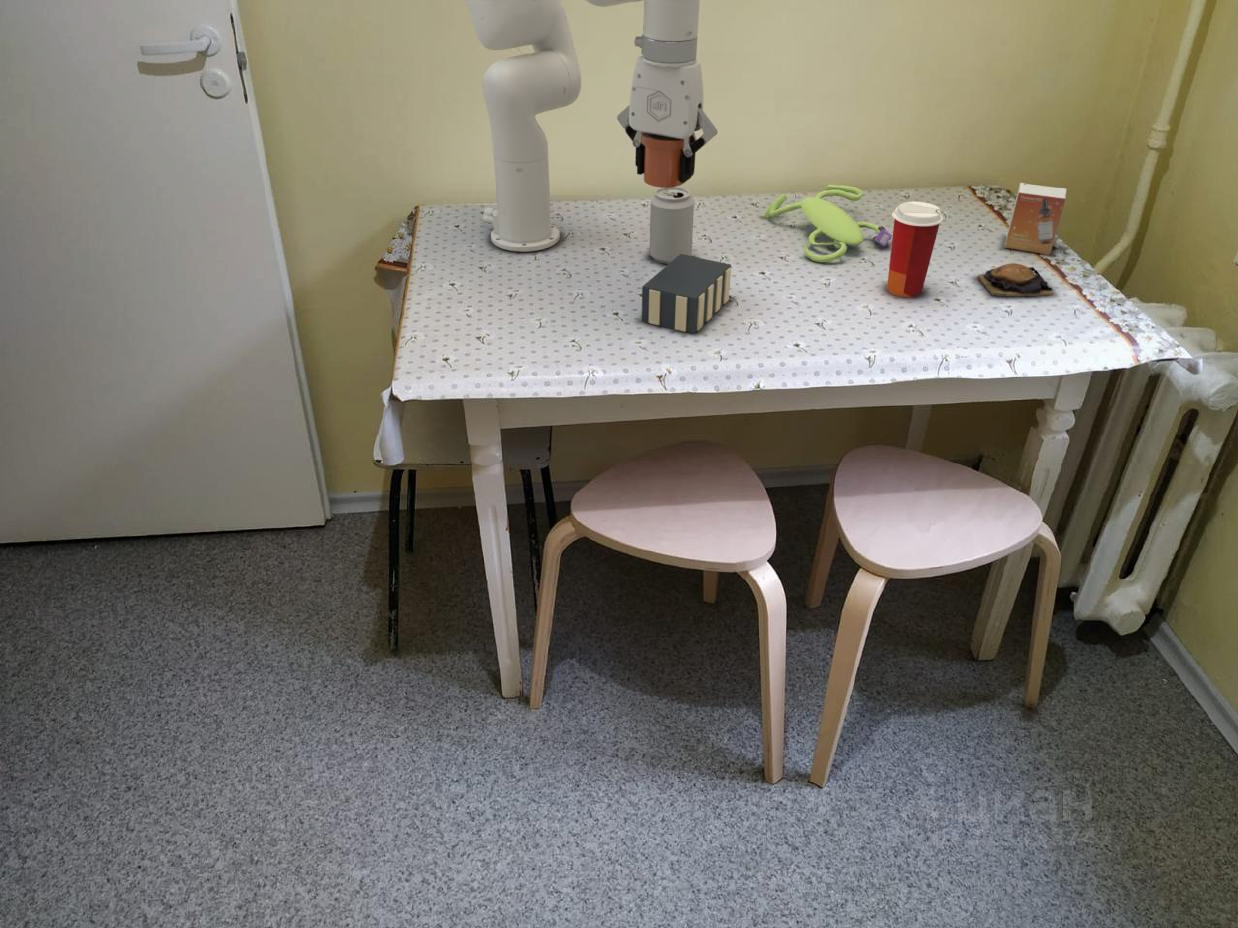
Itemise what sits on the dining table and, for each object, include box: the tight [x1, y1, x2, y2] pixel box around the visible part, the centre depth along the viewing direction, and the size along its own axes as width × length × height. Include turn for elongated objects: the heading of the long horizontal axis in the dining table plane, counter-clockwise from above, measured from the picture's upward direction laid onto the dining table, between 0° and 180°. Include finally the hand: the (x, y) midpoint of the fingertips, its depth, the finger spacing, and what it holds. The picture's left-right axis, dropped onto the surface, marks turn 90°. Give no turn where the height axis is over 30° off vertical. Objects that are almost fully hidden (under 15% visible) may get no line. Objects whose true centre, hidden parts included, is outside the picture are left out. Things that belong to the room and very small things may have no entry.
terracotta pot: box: [641, 132, 691, 188], centre depth 147 cm, size 7×7×7 cm
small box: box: [1004, 182, 1068, 256], centre depth 177 cm, size 8×6×10 cm
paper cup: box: [886, 201, 944, 298], centre depth 160 cm, size 8×8×14 cm
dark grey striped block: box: [641, 254, 732, 335], centre depth 157 cm, size 9×14×6 cm, turn 152°
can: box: [649, 186, 695, 265], centre depth 172 cm, size 8×8×12 cm
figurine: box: [764, 184, 893, 263], centre depth 183 cm, size 18×27×6 cm
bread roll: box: [977, 262, 1054, 298], centre depth 165 cm, size 11×8×4 cm
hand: (664, 175), depth 148 cm, fingers closed on terracotta pot, 6 cm apart
